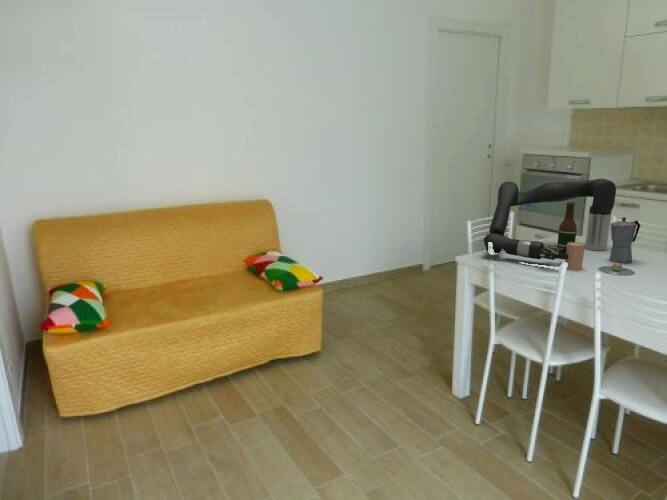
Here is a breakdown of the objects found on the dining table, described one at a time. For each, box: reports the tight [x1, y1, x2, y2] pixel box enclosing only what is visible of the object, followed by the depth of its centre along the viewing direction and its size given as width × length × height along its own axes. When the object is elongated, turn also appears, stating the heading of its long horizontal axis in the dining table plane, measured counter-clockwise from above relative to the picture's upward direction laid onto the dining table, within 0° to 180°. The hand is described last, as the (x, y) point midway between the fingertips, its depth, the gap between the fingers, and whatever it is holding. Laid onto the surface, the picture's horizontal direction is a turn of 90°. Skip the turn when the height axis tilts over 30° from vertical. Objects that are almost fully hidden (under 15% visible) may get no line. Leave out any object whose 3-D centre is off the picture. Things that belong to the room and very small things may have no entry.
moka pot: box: [608, 216, 641, 265], centre depth 211 cm, size 10×15×20 cm, turn 111°
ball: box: [611, 262, 623, 271], centre depth 199 cm, size 3×3×3 cm
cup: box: [564, 241, 585, 271], centre depth 203 cm, size 6×6×11 cm
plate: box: [598, 265, 636, 277], centre depth 200 cm, size 13×13×1 cm
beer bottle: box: [556, 201, 578, 251], centre depth 225 cm, size 8×8×24 cm
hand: (570, 254), depth 203 cm, fingers open, 8 cm apart
